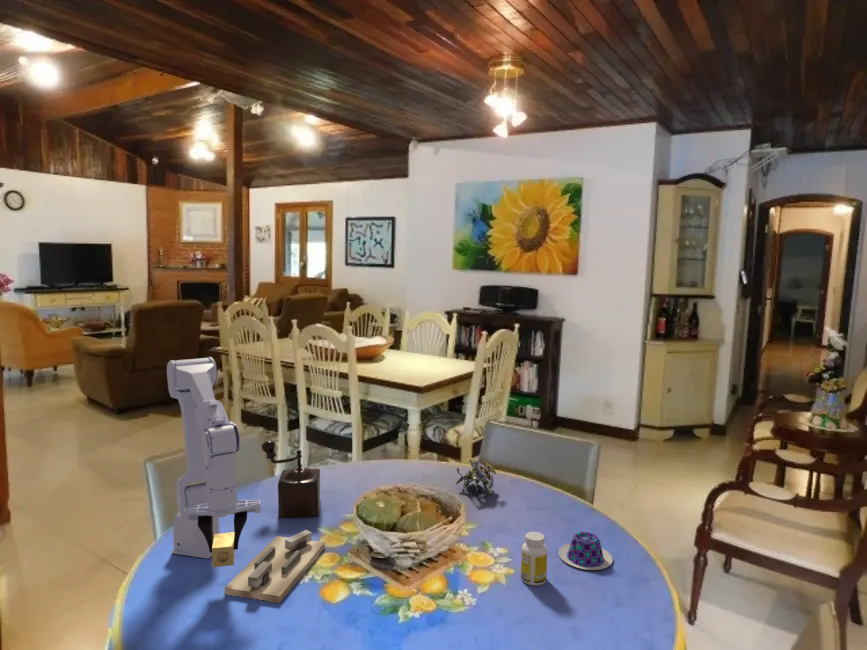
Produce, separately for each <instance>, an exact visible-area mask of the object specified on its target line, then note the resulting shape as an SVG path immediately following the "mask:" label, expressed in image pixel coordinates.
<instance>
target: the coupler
mask: <svg viewBox="0 0 867 650" xmlns="http://www.w3.org/2000/svg"><path fill="white" fill-rule="evenodd" d="M234 537H235V534H234V531H233V532H232V531H231V532H222V533H219V534H214V539H213V545H212V556H211V557H212V558H211V559H212V560H211V563H212V568H218V567H219V568H221V567H228V566H235V555H236V550H234Z"/></svg>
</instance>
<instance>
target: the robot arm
mask: <svg viewBox="0 0 867 650" xmlns="http://www.w3.org/2000/svg"><path fill="white" fill-rule="evenodd" d="M217 371H218V369H217V363H216V361H215V359H214V358H213V357H212V356H207V357H200V358H190V359H187V358H186V359H178V360H173V359H171V360H169V361H168V363H167V364H166V378H167V389H168V393H169V395H170V398H173V399H176V400H178V404H179V406H180V412H181V419H182V430H183V437H184V439H183V440H184V448H185V449H184V450H185V455H186V456H185V457H186V465H187V467H186V468H187V469H186V470H187V471H185V473H184V474H183V475H181V476H180V477H179V478H178V479H177V482H176V484H175V487H176V493H175V500H176V506H177V513H176V514H175V516H174V519H173V524H172V528H173V529H172V531H173V532H172V534H173V535H172V536H173V549H172V550H171V553H172V554H175V555H180V556H181V555H182V556H187V557H188V556H189V557H194V558H202V559H209V558H211V557H212V545H213V539H214V534H220V518H225V517H228V515H234V516H233V530H234V531H233V532H234V534H235V537H234V550H235V551H236V550H238V549H239V541H240V538H241V534H242V531H243V530H244V526H245V524H246V523H247V520H248V513H254V514H261V500H260V499H258V500H255V499H254V500H252V499H251V500H250V499H249V500H248V499H238V475H237V474H238V473H237V472H238V470H237V469H238V468H237V467H238V466H237V453H239V452H240V448H241V437H240V432H239V428H238V426H237V424H236V423H235V422H233V420H230V419H229V416H228V415H227V411H226V409H225V407H224V404H223V403H222V402H221V401H220V400H218V399H216V397H215V393H214V389H213V388H214V385H215V382H216V381H217V377H218V372H217ZM204 481H206V482H204ZM199 482H200V483H199ZM193 483H197V484H193ZM189 484H191V485H189Z"/></svg>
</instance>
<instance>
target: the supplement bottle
mask: <svg viewBox="0 0 867 650" xmlns="http://www.w3.org/2000/svg"><path fill="white" fill-rule="evenodd" d="M524 540H525V542H524V543H523V544H522V546H521V559H520V560H521V561H520V563H521V564H520V579H521V580H522V582H523V583H525V584H526V585H529V586H536V587H537V586H542V585H544V584H545V583H546V582H547V575H548V574H547V572H548V547H547V546H546V544H545V542H546V540H545V535H544V534H543V533H542V532H538V531H530V532H527V533H526V534H525V538H524Z"/></svg>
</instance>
